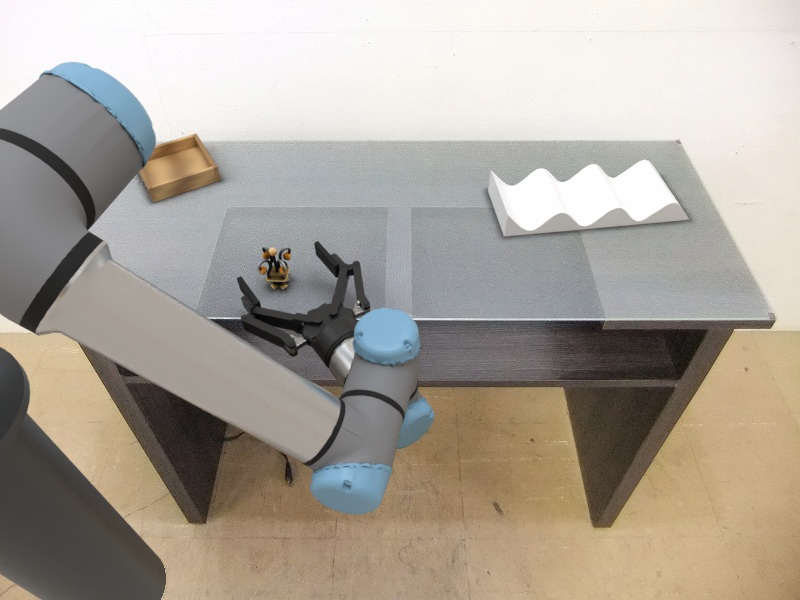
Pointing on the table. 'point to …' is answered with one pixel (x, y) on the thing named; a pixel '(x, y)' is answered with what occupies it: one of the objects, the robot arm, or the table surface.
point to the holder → (178, 168)
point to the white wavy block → (583, 200)
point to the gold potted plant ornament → (275, 266)
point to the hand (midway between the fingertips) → (279, 264)
